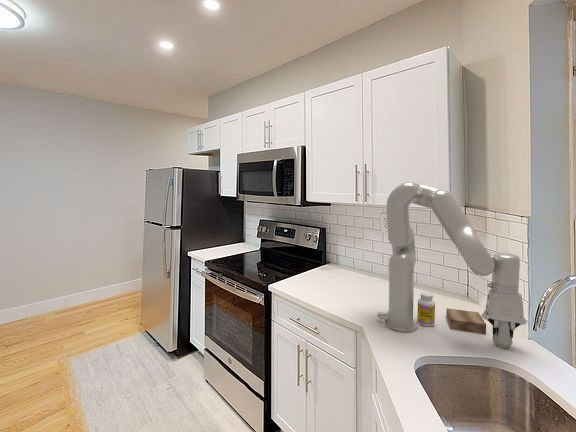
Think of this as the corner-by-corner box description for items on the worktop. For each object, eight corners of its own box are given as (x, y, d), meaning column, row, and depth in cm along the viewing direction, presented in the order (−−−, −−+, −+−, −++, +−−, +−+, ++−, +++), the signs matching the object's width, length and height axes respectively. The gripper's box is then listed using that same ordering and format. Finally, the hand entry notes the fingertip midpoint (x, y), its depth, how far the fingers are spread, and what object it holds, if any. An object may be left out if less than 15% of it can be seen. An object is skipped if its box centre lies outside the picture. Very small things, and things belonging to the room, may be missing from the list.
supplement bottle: (417, 325, 116) (418, 295, 115) (416, 318, 122) (417, 290, 122) (435, 328, 114) (436, 297, 113) (433, 321, 120) (434, 292, 119)
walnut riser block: (450, 329, 113) (451, 319, 113) (446, 317, 124) (446, 308, 124) (485, 334, 108) (486, 324, 108) (478, 321, 119) (478, 312, 119)
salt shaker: (503, 341, 103) (505, 307, 102) (516, 350, 97) (518, 314, 96) (488, 342, 103) (489, 308, 102) (500, 350, 97) (502, 314, 96)
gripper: (480, 288, 98) (478, 338, 99) (538, 294, 92) (535, 347, 93) (475, 282, 105) (473, 329, 106) (529, 287, 99) (526, 337, 100)
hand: (502, 337), depth 100 cm, fingers closed on salt shaker, 3 cm apart
